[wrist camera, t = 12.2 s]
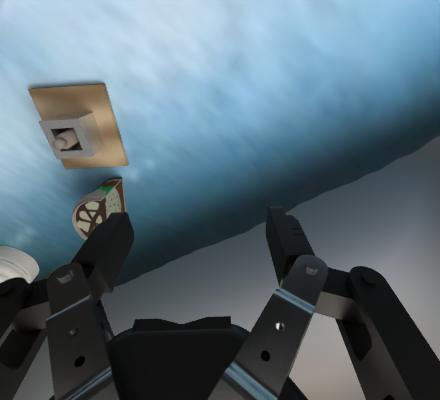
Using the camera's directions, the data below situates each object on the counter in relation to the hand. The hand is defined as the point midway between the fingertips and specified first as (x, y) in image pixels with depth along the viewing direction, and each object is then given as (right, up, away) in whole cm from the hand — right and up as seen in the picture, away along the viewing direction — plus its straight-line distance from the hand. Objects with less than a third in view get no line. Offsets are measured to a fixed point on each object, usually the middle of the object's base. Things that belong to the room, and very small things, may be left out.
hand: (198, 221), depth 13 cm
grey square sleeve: (-23, +13, +26) cm, 37 cm away
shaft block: (-23, +14, +27) cm, 38 cm away
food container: (-22, +2, +35) cm, 42 cm away
